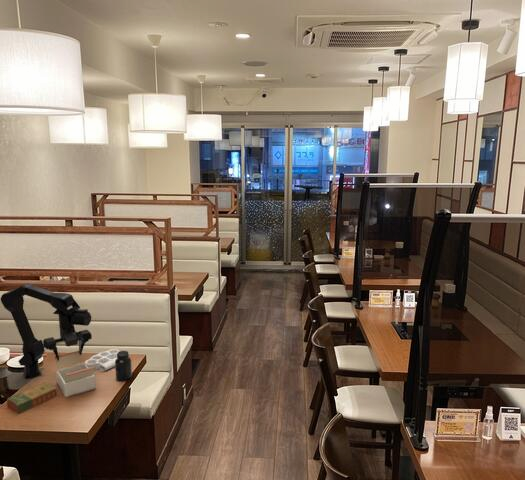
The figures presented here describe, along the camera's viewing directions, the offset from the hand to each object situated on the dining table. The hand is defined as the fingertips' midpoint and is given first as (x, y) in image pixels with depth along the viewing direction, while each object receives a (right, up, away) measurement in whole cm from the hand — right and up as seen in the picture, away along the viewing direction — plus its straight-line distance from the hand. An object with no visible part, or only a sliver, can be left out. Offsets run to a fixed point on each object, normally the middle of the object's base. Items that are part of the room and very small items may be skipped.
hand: (69, 357), depth 205 cm
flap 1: (0, -1, 0) cm, 1 cm away
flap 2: (+9, -4, -12) cm, 16 cm away
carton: (-8, -14, -16) cm, 23 cm away
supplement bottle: (+23, -10, +3) cm, 25 cm away
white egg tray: (+10, -7, +17) cm, 21 cm away
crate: (+5, -11, -4) cm, 13 cm away
